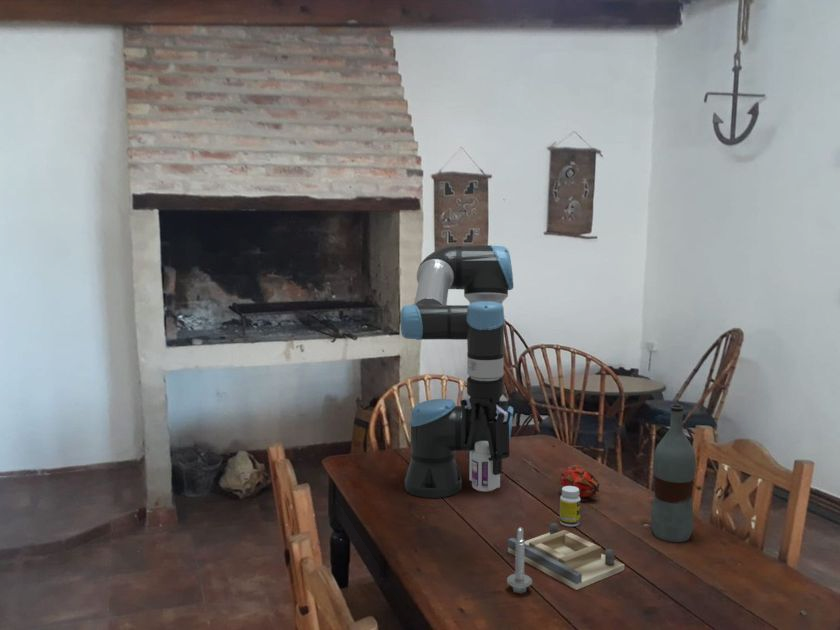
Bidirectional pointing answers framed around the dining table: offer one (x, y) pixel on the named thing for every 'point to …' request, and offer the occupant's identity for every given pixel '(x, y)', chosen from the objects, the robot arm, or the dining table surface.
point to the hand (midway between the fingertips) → (484, 483)
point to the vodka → (673, 483)
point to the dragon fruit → (580, 481)
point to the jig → (568, 558)
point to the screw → (519, 566)
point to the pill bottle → (480, 466)
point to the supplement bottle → (570, 506)
